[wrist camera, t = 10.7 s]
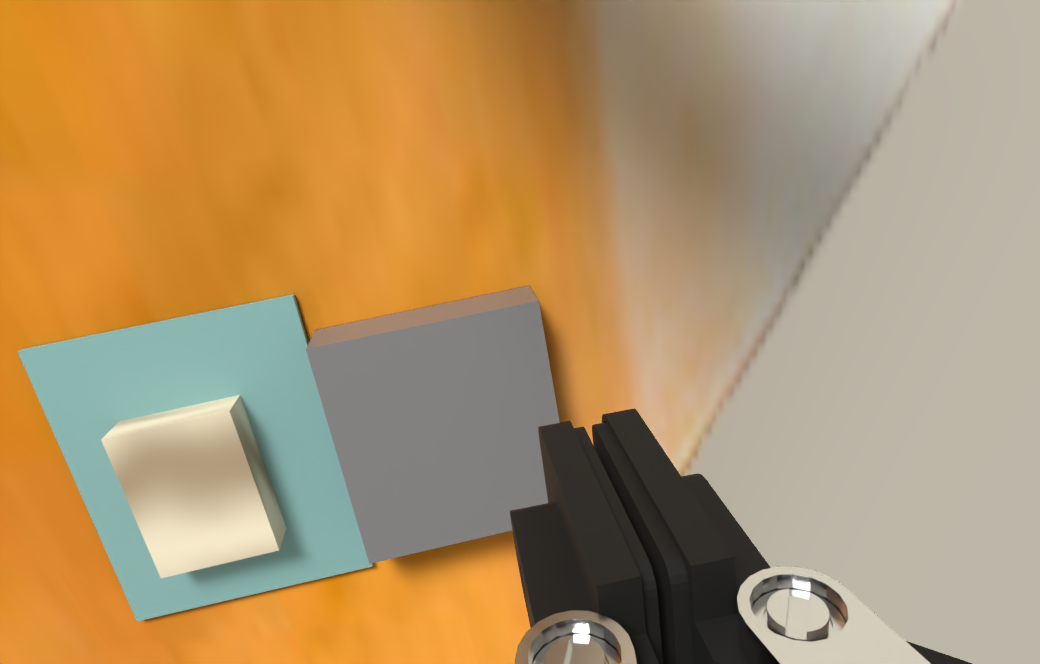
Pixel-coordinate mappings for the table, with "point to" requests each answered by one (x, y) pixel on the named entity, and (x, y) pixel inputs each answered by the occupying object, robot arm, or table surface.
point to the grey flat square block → (438, 418)
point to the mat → (189, 381)
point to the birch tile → (196, 485)
